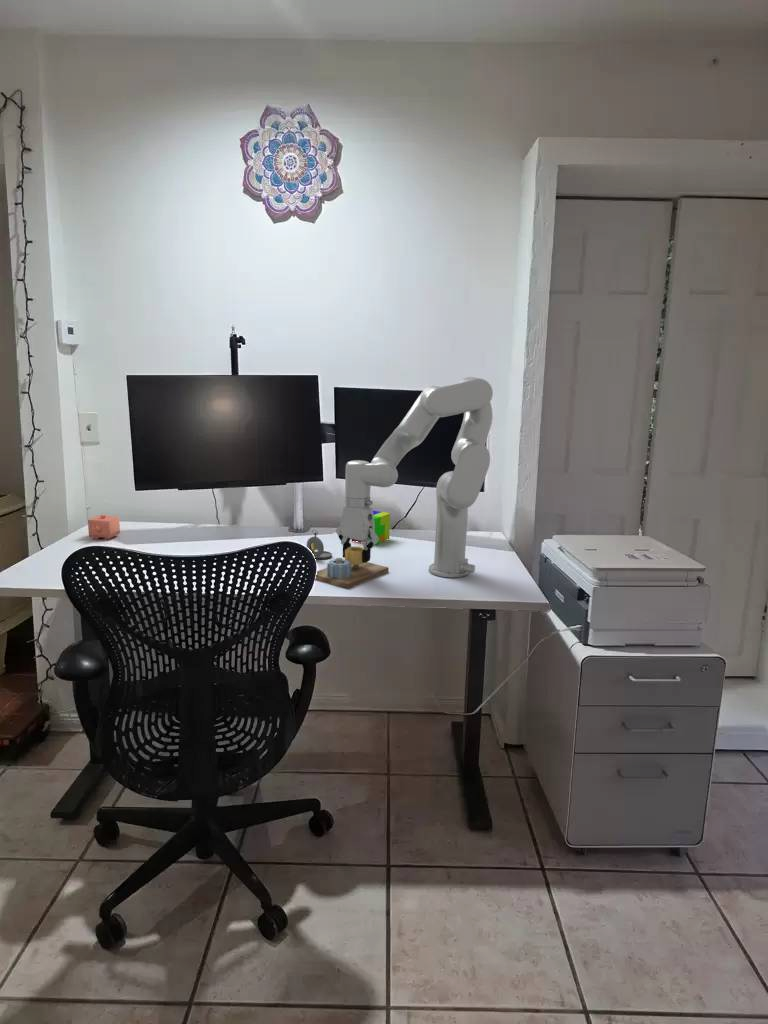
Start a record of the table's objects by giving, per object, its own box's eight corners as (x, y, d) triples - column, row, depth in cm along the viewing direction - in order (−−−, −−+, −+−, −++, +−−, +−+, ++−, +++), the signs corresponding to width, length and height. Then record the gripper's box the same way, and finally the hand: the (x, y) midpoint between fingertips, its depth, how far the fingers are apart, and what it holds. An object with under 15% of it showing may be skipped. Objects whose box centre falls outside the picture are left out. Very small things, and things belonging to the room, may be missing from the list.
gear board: (388, 572, 203) (389, 552, 202) (347, 588, 188) (348, 567, 186) (353, 562, 211) (353, 543, 210) (311, 578, 196) (311, 557, 194)
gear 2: (371, 561, 201) (372, 548, 200) (358, 566, 196) (358, 553, 195) (354, 556, 205) (354, 544, 204) (340, 561, 200) (340, 549, 199)
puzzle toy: (366, 535, 245) (366, 509, 242) (389, 539, 240) (390, 513, 237) (351, 541, 236) (351, 514, 234) (374, 546, 231) (375, 518, 229)
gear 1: (355, 574, 196) (355, 561, 195) (340, 580, 190) (340, 567, 189) (337, 569, 200) (337, 556, 199) (322, 575, 194) (322, 562, 193)
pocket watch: (332, 554, 220) (333, 525, 218) (330, 561, 212) (331, 531, 210) (308, 553, 220) (308, 524, 218) (305, 561, 212) (305, 531, 209)
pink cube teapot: (84, 542, 225) (82, 518, 223) (102, 533, 236) (100, 510, 234) (105, 543, 224) (104, 520, 222) (123, 534, 235) (121, 512, 234)
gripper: (388, 504, 194) (386, 562, 199) (343, 495, 204) (342, 550, 208) (373, 508, 188) (371, 567, 193) (327, 499, 198) (326, 556, 202)
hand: (356, 558), depth 200 cm, fingers closed on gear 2, 6 cm apart
